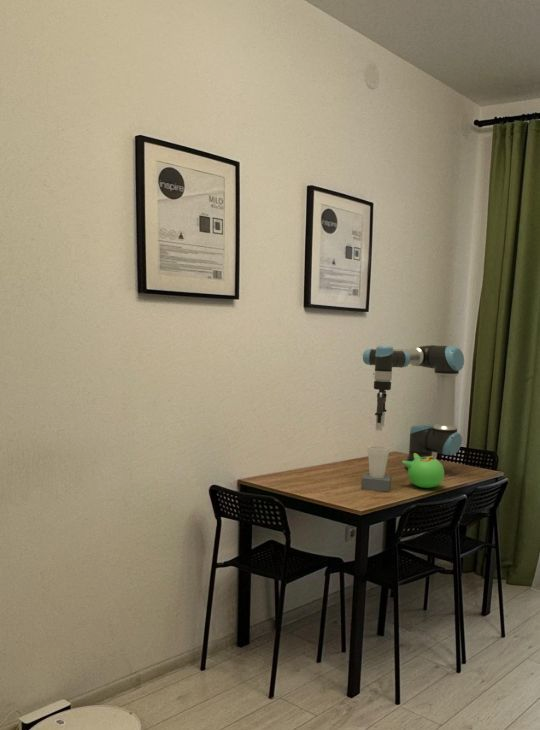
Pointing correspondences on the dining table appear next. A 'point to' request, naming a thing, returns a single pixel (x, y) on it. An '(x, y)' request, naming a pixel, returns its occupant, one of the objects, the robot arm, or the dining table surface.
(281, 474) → the dining table surface
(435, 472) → the toy bird
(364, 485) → the base plinth
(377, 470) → the foam cup
